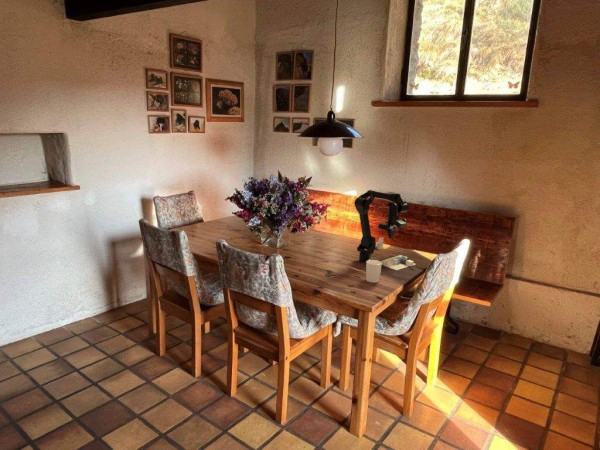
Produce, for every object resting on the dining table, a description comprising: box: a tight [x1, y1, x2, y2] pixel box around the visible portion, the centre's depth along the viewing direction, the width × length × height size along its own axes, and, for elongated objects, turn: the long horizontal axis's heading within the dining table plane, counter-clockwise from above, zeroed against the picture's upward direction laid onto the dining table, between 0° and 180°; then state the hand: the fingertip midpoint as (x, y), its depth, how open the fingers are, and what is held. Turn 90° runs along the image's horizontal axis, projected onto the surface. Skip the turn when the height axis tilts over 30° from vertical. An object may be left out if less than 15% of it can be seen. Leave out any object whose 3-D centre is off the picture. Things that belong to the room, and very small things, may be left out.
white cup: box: [365, 259, 383, 284], centre depth 221 cm, size 8×8×10 cm
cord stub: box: [398, 257, 415, 267], centre depth 247 cm, size 3×10×3 cm, turn 39°
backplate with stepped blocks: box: [380, 254, 416, 271], centre depth 246 cm, size 18×11×4 cm, turn 129°
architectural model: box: [376, 237, 384, 250], centre depth 280 cm, size 3×7×7 cm, turn 148°
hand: (390, 238), depth 258 cm, fingers closed
